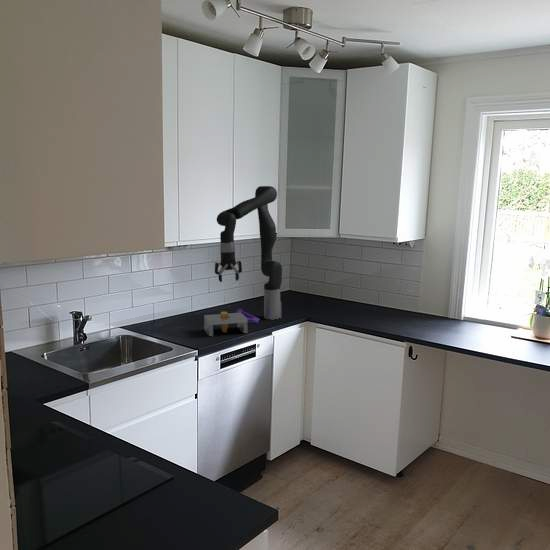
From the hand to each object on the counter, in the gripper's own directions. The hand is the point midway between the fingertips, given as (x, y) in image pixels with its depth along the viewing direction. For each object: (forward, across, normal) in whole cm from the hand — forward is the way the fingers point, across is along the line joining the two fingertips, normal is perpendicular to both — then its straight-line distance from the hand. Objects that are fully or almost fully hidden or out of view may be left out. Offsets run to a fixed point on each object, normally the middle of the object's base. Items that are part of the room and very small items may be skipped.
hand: (228, 281), depth 293 cm
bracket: (+27, -12, -10) cm, 31 cm away
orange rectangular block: (+25, +5, +6) cm, 26 cm away
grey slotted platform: (+25, +4, +7) cm, 27 cm away
